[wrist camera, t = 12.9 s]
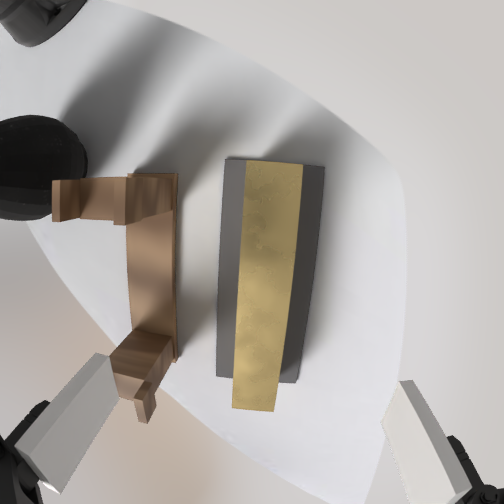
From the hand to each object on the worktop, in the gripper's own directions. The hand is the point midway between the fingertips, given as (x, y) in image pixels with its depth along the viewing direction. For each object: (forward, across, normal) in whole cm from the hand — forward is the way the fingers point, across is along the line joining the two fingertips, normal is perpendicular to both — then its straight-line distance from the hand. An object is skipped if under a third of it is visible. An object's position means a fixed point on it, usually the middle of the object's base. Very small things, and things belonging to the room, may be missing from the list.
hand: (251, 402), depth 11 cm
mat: (+17, 0, -1) cm, 17 cm away
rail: (+17, 0, -1) cm, 17 cm away
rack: (+17, -11, -1) cm, 20 cm away
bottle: (+18, -23, +10) cm, 31 cm away
